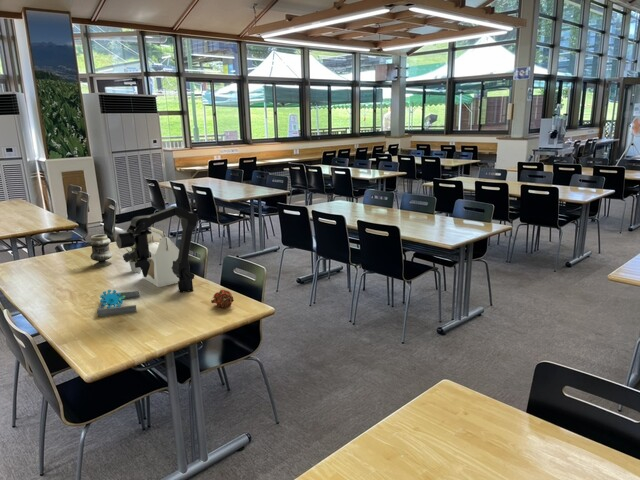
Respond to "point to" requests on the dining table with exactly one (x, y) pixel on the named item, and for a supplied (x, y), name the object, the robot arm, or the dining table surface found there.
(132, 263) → the house plant
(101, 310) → the gear seat
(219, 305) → the dragon fruit
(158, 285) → the gable box
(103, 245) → the apothecary jar
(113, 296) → the gear
